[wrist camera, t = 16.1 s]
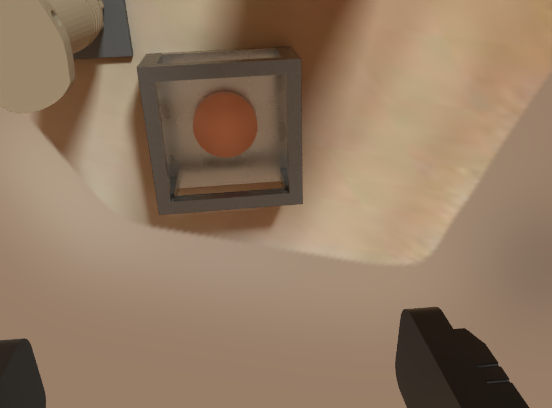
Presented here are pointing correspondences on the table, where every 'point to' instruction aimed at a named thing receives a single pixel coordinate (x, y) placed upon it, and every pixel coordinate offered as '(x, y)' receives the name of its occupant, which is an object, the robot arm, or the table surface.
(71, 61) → the handle
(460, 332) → the robot arm
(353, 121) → the table surface
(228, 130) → the button
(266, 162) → the guard frame
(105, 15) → the rubber mat
